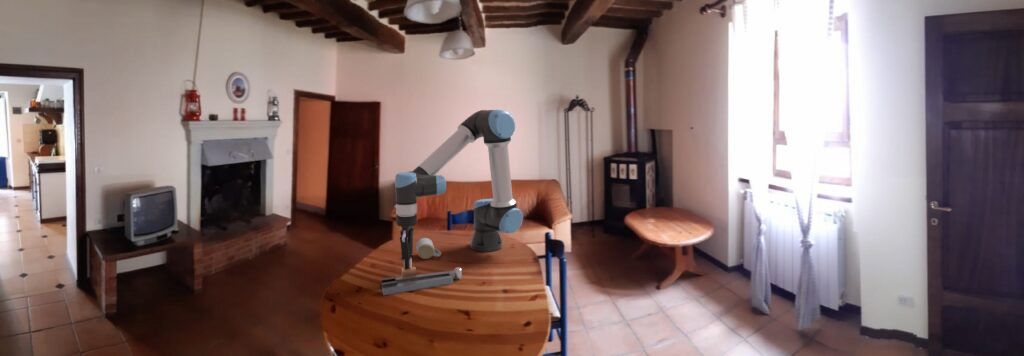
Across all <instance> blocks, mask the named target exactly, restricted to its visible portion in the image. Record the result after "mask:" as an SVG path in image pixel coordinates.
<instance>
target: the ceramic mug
mask: <svg viewBox="0 0 1024 356" xmlns="http://www.w3.org/2000/svg"><path fill="white" fill-rule="evenodd" d="M415 248H416V252H417V255H418V257H419V258H420V259H422V260H429V259H431V258H432V257H433V256H434V257H439V258H440V257H441V255H442V252H441V251H440V250H439V249H437V248H435V247H434V243H433V241H432V239H430V238H428V237H422V238H420V239H418V241H417V242H416V244H415Z"/></svg>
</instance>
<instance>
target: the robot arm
mask: <svg viewBox="0 0 1024 356" xmlns="http://www.w3.org/2000/svg"><path fill="white" fill-rule="evenodd" d="M515 131H516V121H515V119H514V116H513V115H512V114H511V113H510V112H508V111H507V110H503V109H502V110H501V109H485V110H484V109H482V110H478V111H476V112H474V113H472V114H471V115H470V116H469V117H467V118H466V119H464V120H463V121H462V122H461V123H460V124H459V125H458V126H457V130H456V131H455V132H454V133H453V134H452V135H450V136H449V137H448V138H447V139H445V141H444V142H443V143H441V144H440V145H439V146H438V148H436V149H435V150H433V152H432V153H431V154H430V155H428V157H427V158H425V159H424V160H423V161H422V162H421V163H420V164H418V166H417V167H415V169H413V170H410V171H406V172H405V171H404V172H402V171H401V172H397V173H396V175H395V176H394V177H395V179H394V187H395V189H394V191H395V205H394V206H393V207H394V208H395V213H396V216H395V220H396V221H395V224H396V226H398V227H401V230H400V236H399V241H400V251H401V258H400V260H403V268H409V267H413V266H412V265H413V264H412V262H413V260H412V259H413V258H414V253H413V252H414V250H413V249H414V226H416V225H417V224H418V215H417V213H418V201H417V199H418V198H423V197H432V196H440V195H443V194H444V193H446V191H447V182H446V179H445V177H444V176H443V175H437V174H438V173H439V172H440V171H441V170H442V169H443V168H445V166H446V165H448V163H450V162H451V161H452V160H453V158H455V157H456V156H457V155H458V154H459V153H460V152H461V151H462V150H464V149H465V148H466V147H467V146H468V145H469V144H470V143H471V144H473V143H475V141H476V140H478V139H480V138H483V144H484V145H486V146H487V150H488V151H487V152H488V160H489V171H490V178H491V179H490V180H491V190H492V198H483V199H478V200H476V201H474V203H473V204H474V205H473V228H474V230H473V235H472V238H471V240H470V248H471V249H472V250H473V251H477V252H495V251H499V250H501V249H502V248H503V239H502V237H501V233H503V234H508V235H509V234H514V233H515V232H517V231H518V230H519V229H520V227H521V226H522V224H523V220H524V214H523V212H522V210H521V209H520V208H518V207H517V206H518V205H517V200H516V199H514V197H513V187H512V177H511V167H510V166H511V164H510V155H509V154H510V153H509V144H510V143H511V141H512V139H511V137H512V136H513V135H514V132H515ZM500 232H501V233H500Z"/></svg>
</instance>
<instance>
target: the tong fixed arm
mask: <svg viewBox="0 0 1024 356" xmlns="http://www.w3.org/2000/svg"><path fill="white" fill-rule="evenodd" d="M452 284H454V278H453V277H452V275H451V276H444V277H438V278H432V279H426V280H420V281H414V282H407V283H401V284H397V281H391V282H385V283H382V287H381V292H382V295H383V296H388V295H389V296H390V295H394V294H401V293H406V292H407V293H408V292H411V291H412V292H413V291H417V290H425V289H429V288H435V287H436V288H437V287H440V286H447V285H452Z"/></svg>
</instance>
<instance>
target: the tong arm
mask: <svg viewBox="0 0 1024 356" xmlns="http://www.w3.org/2000/svg"><path fill="white" fill-rule="evenodd" d="M462 269H463V268H462V267H459V266H458V267H455V268H454V270H450V271H449V270H447V271H438V272H432V273H422V274H417V268H416V266H412V267H409V268H404V267H402V268H401V276H399V277H395V276H392V277H384V278H380V285H381V288H382V283H385V282H391V281H397V284H401V283H407V282H414V281H420V280H426V279H432V278H438V277H444V276H451V275H452V277H453V279H455V280H461V279H462V277H463V275H462V274H463V271H462Z"/></svg>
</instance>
